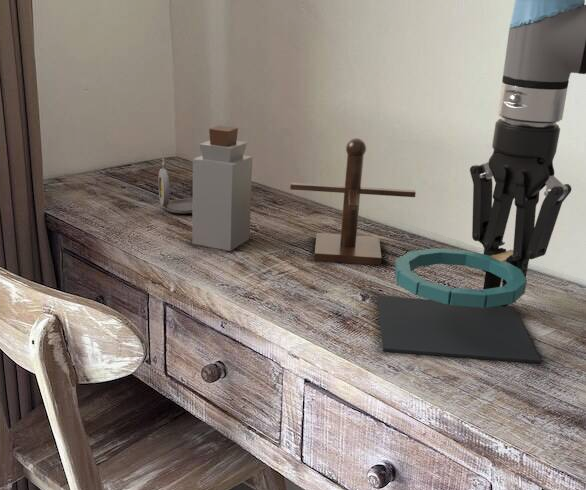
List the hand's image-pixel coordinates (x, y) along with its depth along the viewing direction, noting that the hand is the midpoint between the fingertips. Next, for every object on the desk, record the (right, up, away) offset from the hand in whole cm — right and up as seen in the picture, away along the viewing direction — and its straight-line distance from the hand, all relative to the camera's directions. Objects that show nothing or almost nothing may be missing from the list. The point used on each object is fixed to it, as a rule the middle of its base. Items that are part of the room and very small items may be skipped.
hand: (498, 299), depth 107 cm
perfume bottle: (-37, +9, +23) cm, 45 cm away
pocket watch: (-46, +15, +37) cm, 61 cm away
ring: (-6, +3, -7) cm, 10 cm away
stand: (-18, +7, +20) cm, 28 cm away
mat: (-7, -3, -5) cm, 10 cm away
